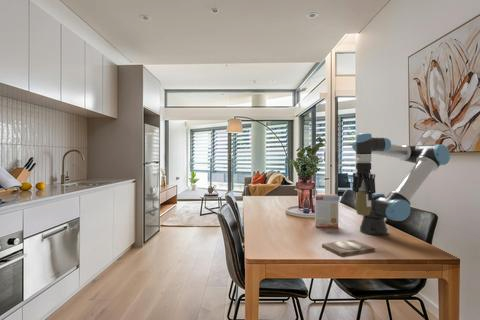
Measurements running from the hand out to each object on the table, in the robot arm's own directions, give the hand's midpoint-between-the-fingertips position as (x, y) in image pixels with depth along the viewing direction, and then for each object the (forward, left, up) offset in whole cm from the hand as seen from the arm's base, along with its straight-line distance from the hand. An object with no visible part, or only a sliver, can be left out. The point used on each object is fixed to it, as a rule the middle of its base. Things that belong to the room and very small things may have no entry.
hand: (363, 205), depth 151 cm
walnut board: (+17, +8, -19) cm, 27 cm away
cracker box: (-1, -32, -19) cm, 37 cm away
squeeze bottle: (0, 0, -5) cm, 5 cm away
